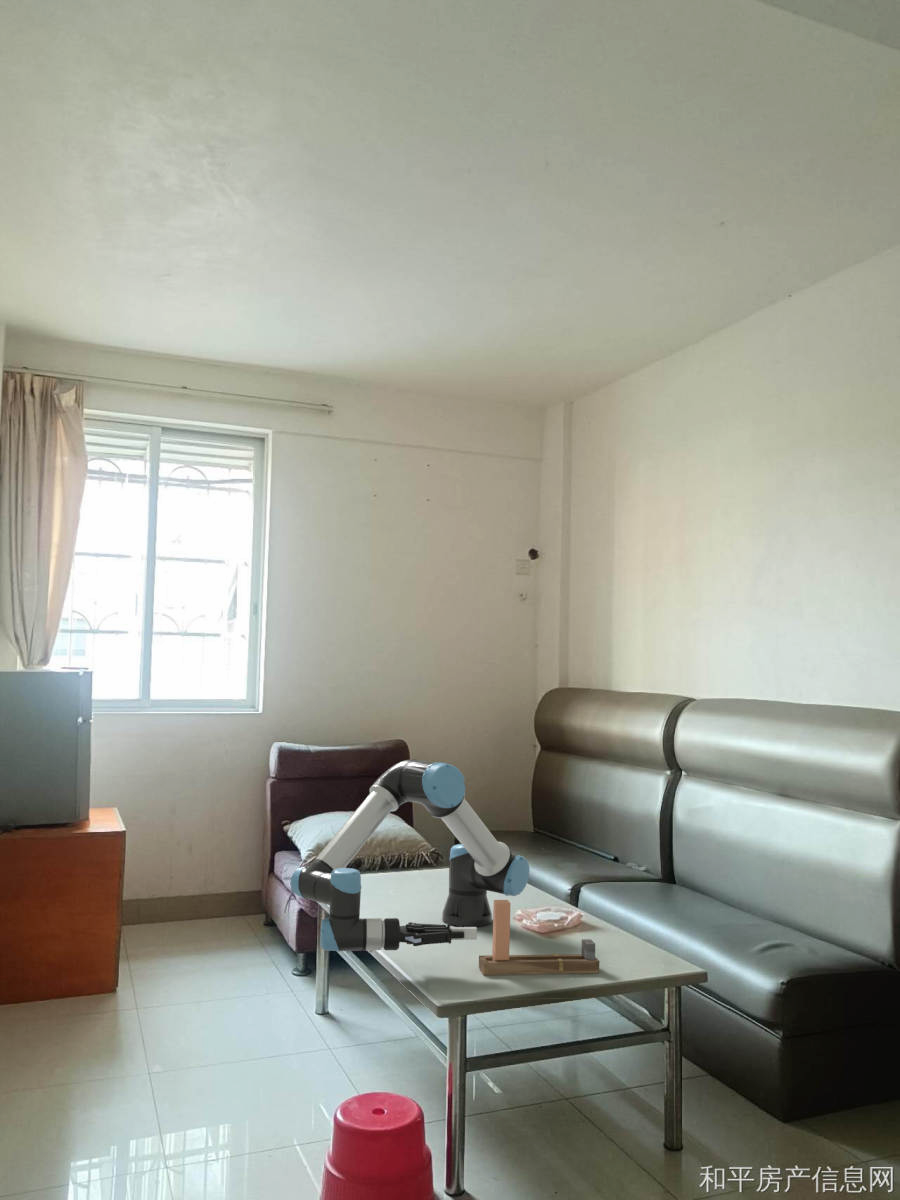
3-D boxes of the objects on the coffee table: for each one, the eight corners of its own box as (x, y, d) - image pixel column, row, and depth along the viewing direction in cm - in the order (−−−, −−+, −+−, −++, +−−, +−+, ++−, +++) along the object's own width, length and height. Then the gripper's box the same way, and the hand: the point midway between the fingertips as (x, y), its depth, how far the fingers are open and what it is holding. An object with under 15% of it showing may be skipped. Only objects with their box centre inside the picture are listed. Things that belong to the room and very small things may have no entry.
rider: (491, 965, 236) (493, 899, 237) (506, 965, 236) (508, 899, 238) (494, 969, 232) (495, 903, 233) (509, 969, 233) (511, 903, 234)
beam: (478, 967, 236) (479, 939, 237) (591, 965, 241) (592, 938, 241) (483, 975, 230) (484, 946, 231) (599, 973, 235) (599, 944, 235)
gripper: (380, 942, 236) (471, 941, 240) (384, 957, 223) (480, 956, 227) (381, 912, 237) (472, 911, 240) (385, 925, 224) (481, 924, 228)
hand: (476, 933), depth 234 cm, fingers closed
